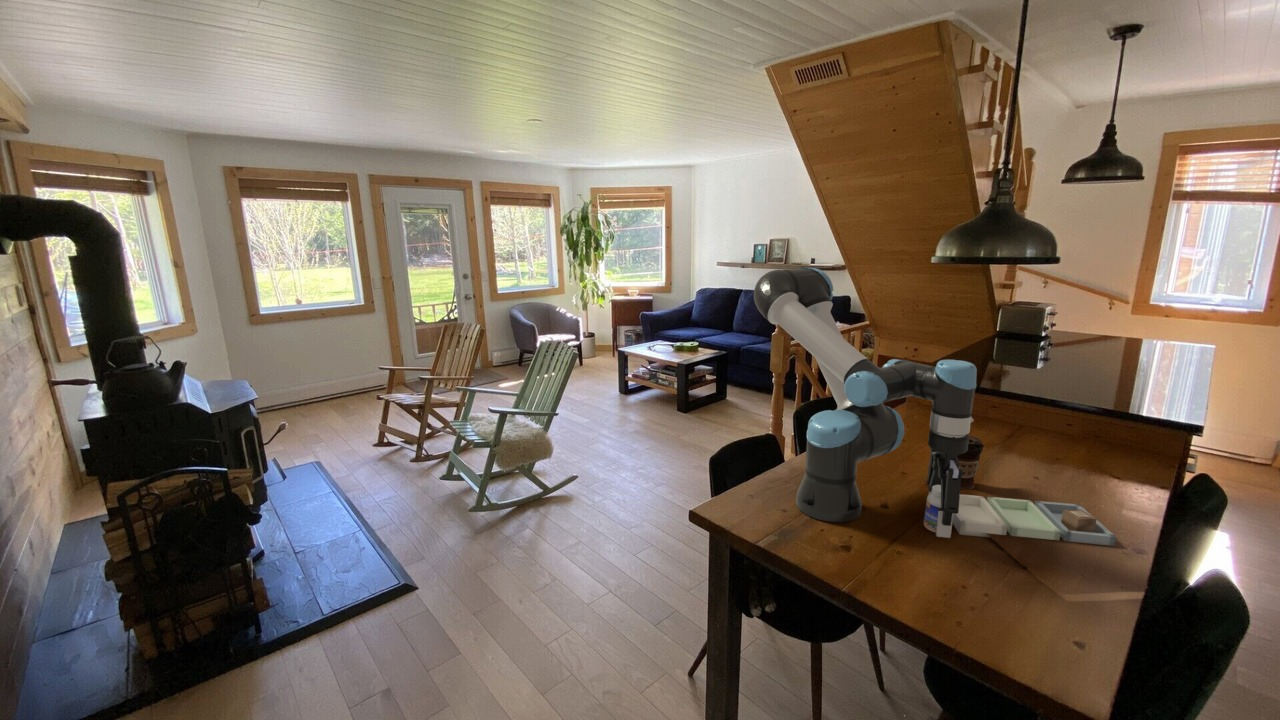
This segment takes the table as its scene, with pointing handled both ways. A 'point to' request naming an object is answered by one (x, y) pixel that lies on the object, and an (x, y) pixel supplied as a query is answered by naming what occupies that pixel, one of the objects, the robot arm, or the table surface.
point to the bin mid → (1024, 518)
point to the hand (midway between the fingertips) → (937, 527)
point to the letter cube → (1078, 520)
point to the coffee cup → (970, 462)
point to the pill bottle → (932, 508)
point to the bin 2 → (1098, 537)
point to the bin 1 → (977, 518)
